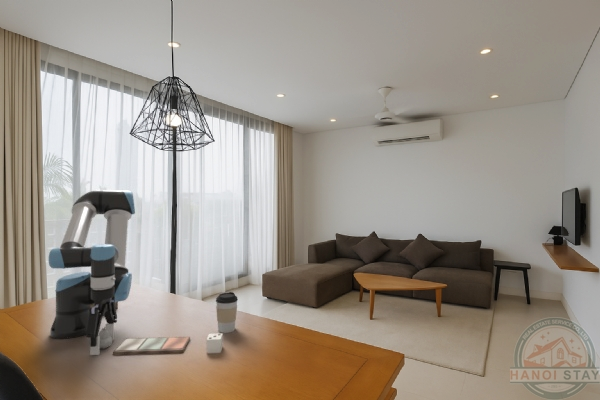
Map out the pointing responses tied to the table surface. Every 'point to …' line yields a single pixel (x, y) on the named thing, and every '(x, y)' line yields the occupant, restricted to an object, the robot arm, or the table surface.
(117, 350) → the game board
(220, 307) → the coffee cup
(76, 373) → the table surface
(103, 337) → the white lumpy piece
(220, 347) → the die
